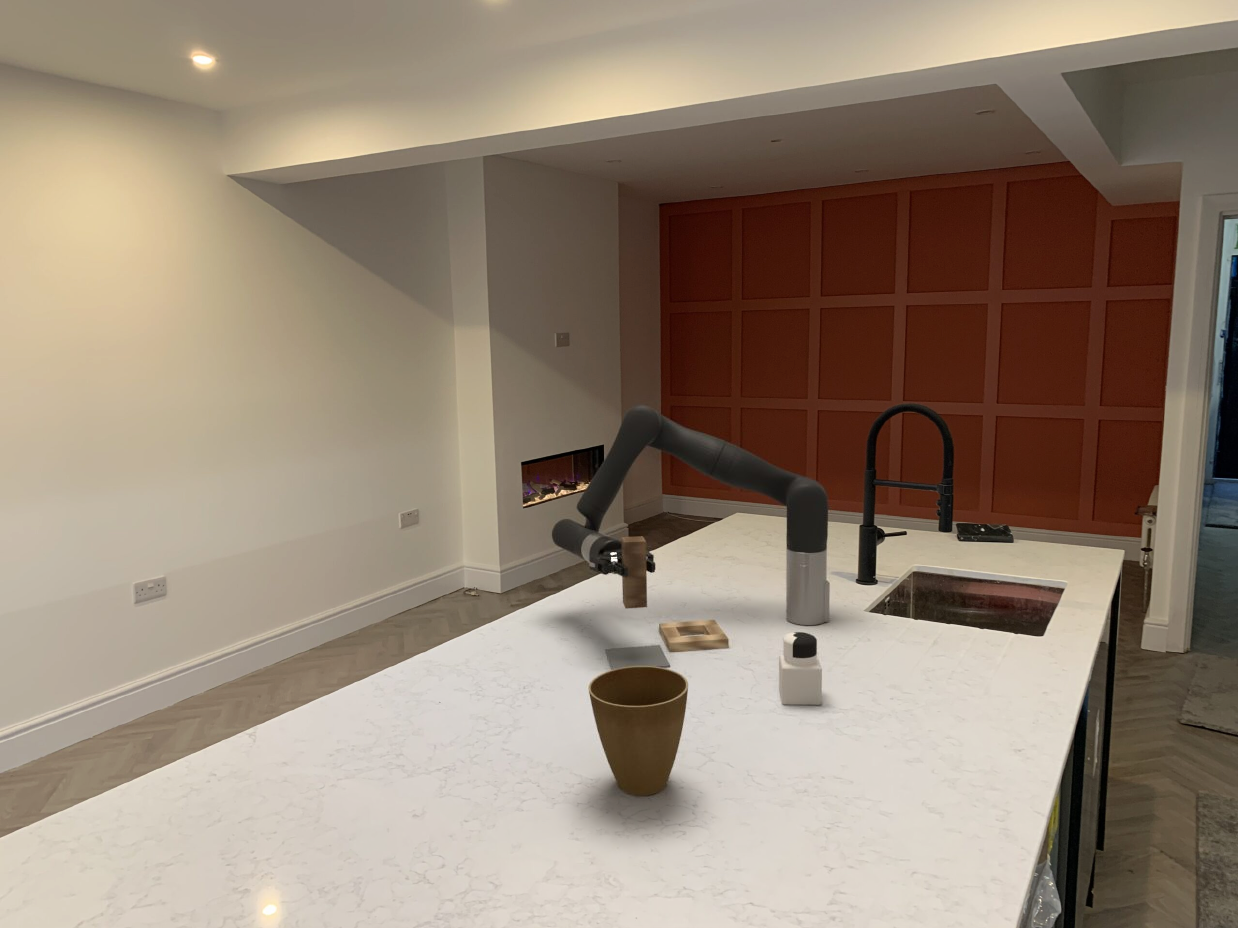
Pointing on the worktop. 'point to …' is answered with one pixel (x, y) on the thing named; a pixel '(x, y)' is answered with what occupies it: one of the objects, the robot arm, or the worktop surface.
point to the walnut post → (634, 572)
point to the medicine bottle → (800, 670)
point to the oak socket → (709, 640)
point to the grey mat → (637, 657)
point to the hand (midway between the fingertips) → (639, 569)
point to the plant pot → (640, 724)
